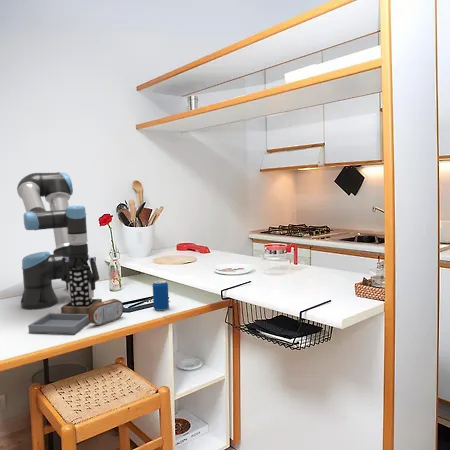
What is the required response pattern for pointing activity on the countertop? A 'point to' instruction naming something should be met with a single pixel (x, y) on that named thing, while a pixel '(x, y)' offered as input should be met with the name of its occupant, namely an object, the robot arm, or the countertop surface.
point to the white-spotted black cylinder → (79, 287)
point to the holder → (78, 308)
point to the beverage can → (160, 295)
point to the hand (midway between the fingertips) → (81, 297)
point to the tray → (59, 324)
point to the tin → (106, 311)
